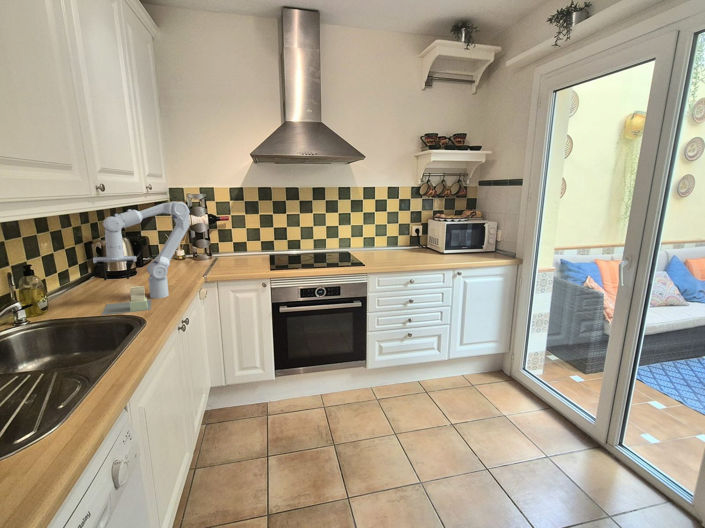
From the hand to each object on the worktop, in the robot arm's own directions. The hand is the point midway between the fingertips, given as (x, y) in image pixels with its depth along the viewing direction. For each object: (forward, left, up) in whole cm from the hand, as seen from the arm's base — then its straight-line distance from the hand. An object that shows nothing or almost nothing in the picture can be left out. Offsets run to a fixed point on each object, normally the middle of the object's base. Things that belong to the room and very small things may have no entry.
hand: (116, 279), depth 143 cm
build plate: (+9, +4, -10) cm, 14 cm away
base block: (+13, +8, -10) cm, 18 cm away
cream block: (+13, +8, -6) cm, 16 cm away
